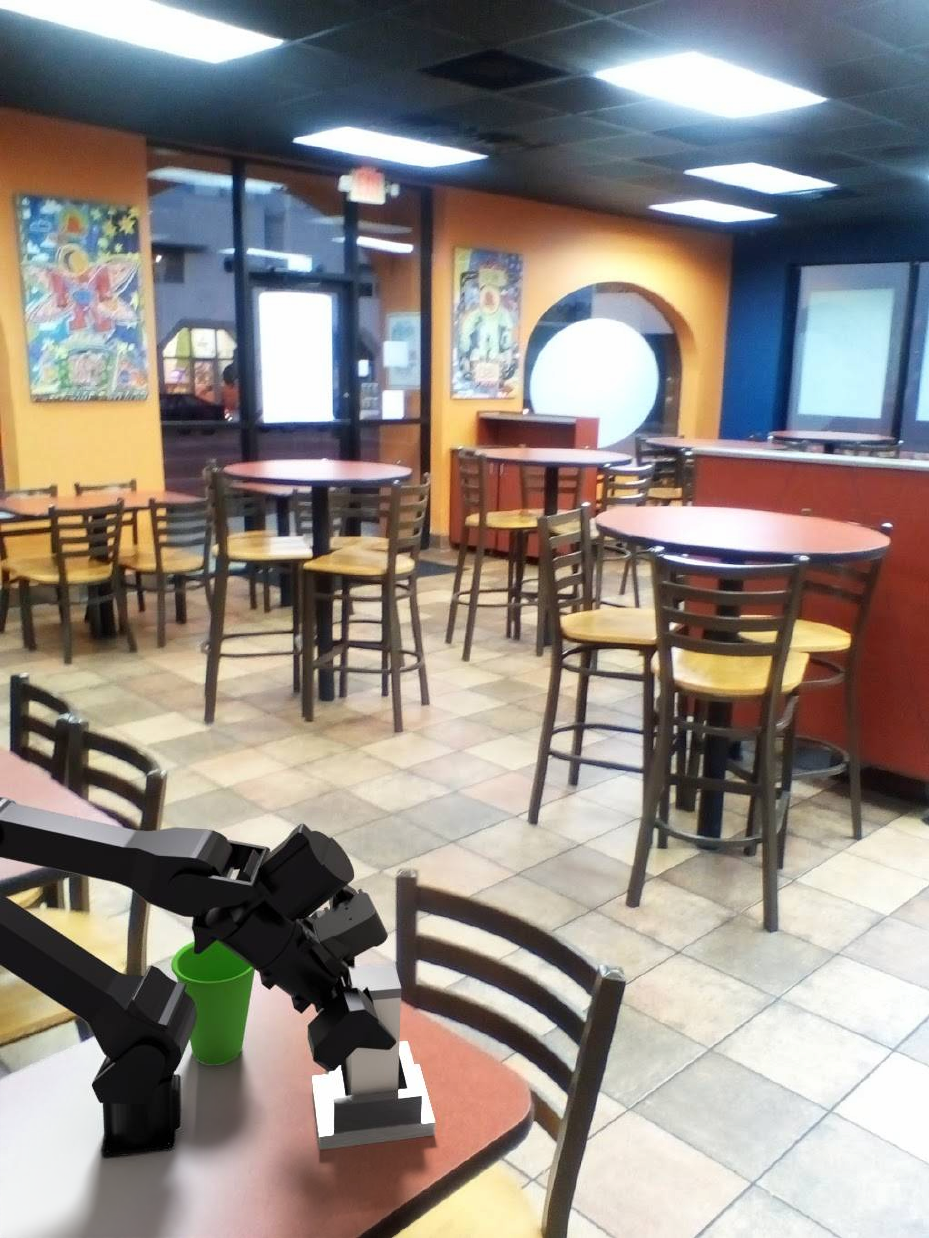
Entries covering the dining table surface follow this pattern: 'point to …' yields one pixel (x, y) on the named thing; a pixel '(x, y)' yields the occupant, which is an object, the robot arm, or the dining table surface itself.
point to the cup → (216, 1000)
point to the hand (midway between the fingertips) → (386, 1029)
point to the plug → (375, 1065)
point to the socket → (372, 1108)
